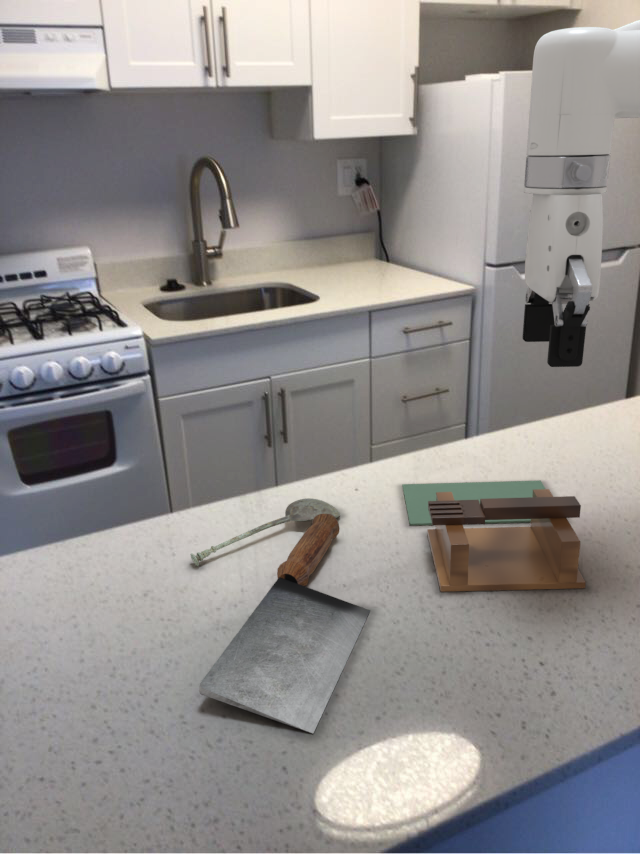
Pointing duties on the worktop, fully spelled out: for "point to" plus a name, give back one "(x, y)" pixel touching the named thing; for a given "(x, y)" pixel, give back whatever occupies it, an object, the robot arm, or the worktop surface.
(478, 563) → the rack
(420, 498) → the mat
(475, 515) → the fork
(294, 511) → the soupspoon
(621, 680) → the worktop surface
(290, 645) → the meat cleaver
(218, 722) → the worktop surface
